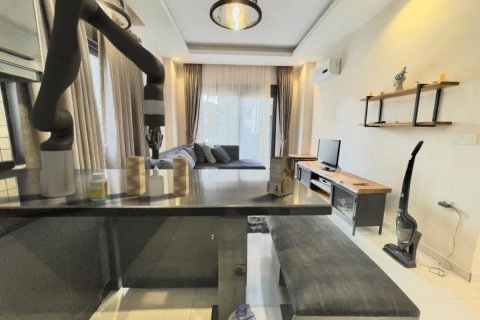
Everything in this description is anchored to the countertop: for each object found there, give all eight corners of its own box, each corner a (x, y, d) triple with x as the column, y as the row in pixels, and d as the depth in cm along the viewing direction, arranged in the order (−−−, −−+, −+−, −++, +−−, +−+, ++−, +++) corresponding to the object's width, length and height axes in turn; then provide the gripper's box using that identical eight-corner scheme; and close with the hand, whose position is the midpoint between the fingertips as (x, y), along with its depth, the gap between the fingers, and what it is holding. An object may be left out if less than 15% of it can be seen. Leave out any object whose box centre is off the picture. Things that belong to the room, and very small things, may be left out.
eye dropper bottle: (160, 198, 84) (159, 167, 83) (146, 197, 85) (145, 166, 83) (165, 194, 88) (165, 165, 87) (152, 193, 89) (152, 164, 88)
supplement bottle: (96, 202, 78) (94, 175, 76) (88, 199, 80) (86, 173, 79) (111, 198, 82) (110, 173, 81) (103, 196, 85) (101, 171, 84)
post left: (127, 195, 87) (125, 157, 85) (133, 191, 92) (131, 156, 90) (140, 195, 87) (139, 157, 85) (145, 191, 92) (144, 156, 90)
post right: (173, 195, 87) (172, 158, 86) (176, 192, 92) (176, 156, 90) (186, 195, 88) (185, 158, 86) (188, 192, 93) (188, 157, 91)
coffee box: (282, 190, 100) (283, 155, 98) (293, 193, 95) (296, 156, 93) (268, 193, 94) (270, 156, 92) (280, 197, 89) (282, 158, 87)
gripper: (150, 114, 89) (152, 157, 91) (136, 111, 76) (138, 161, 78) (169, 115, 89) (170, 157, 91) (158, 112, 76) (159, 161, 78)
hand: (155, 159), depth 85 cm, fingers closed
